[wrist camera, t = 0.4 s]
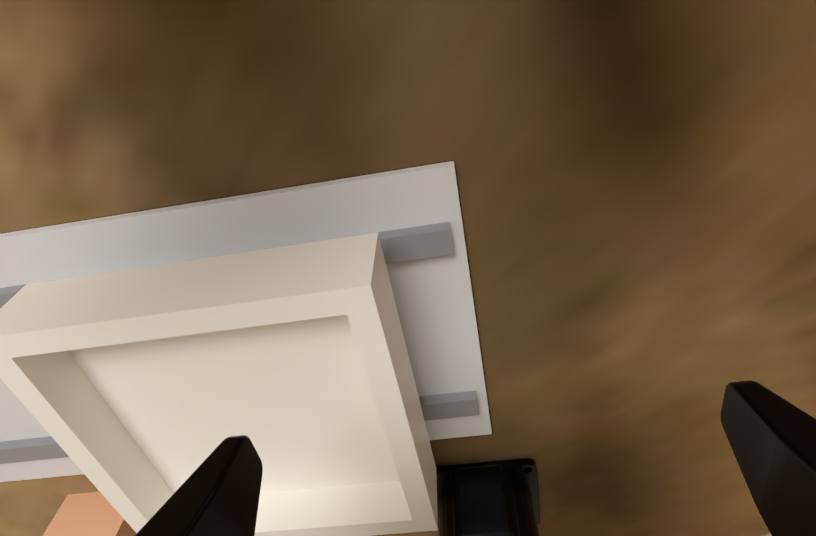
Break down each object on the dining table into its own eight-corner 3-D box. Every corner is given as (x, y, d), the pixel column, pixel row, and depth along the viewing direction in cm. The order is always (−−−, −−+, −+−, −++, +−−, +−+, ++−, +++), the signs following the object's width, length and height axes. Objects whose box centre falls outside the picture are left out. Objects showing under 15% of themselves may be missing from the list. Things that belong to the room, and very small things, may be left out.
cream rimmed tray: (435, 438, 28) (438, 530, 24) (190, 462, 29) (153, 552, 25) (381, 208, 20) (370, 285, 16) (53, 258, 22) (-34, 340, 18)
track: (491, 428, 29) (495, 462, 27) (-48, 481, 33) (-75, 514, 31) (453, 160, 20) (456, 185, 18) (-277, 278, 24) (-334, 308, 22)
